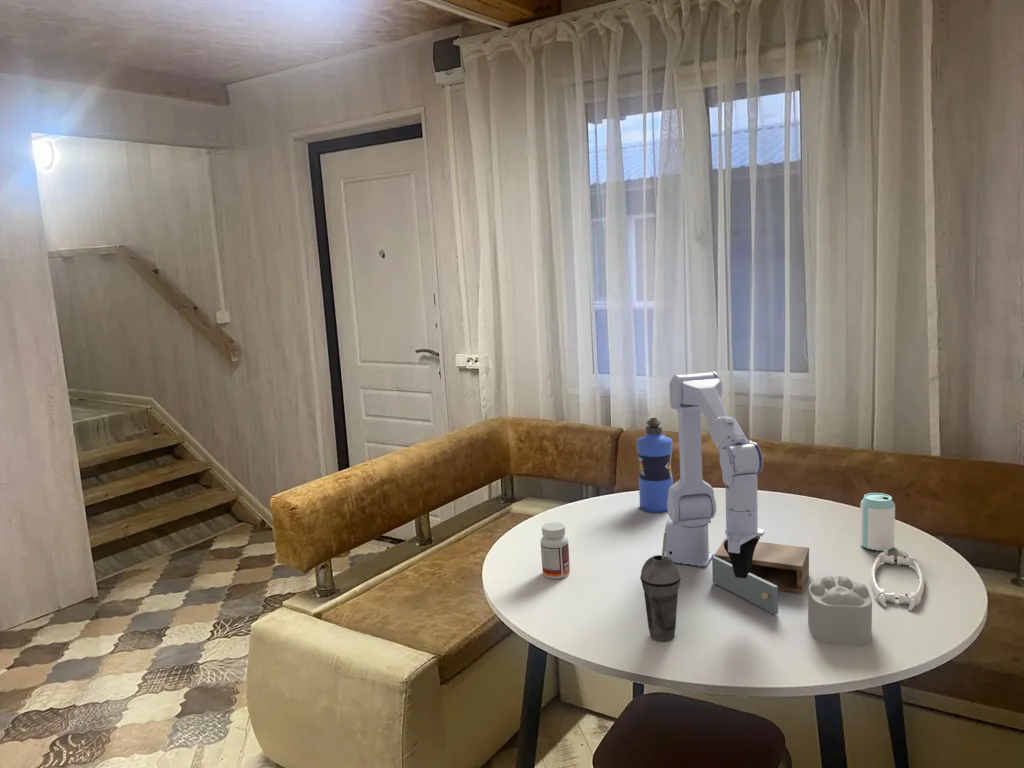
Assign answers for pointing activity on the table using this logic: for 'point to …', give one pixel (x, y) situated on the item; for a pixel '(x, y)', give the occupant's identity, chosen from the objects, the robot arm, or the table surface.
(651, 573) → the beverage cup
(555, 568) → the pill bottle
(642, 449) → the water bottle
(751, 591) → the cabinet door
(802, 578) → the walnut cabinet
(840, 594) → the grey paw shaped block
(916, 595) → the white oval frame
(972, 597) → the table surface
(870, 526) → the can
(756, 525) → the robot arm
